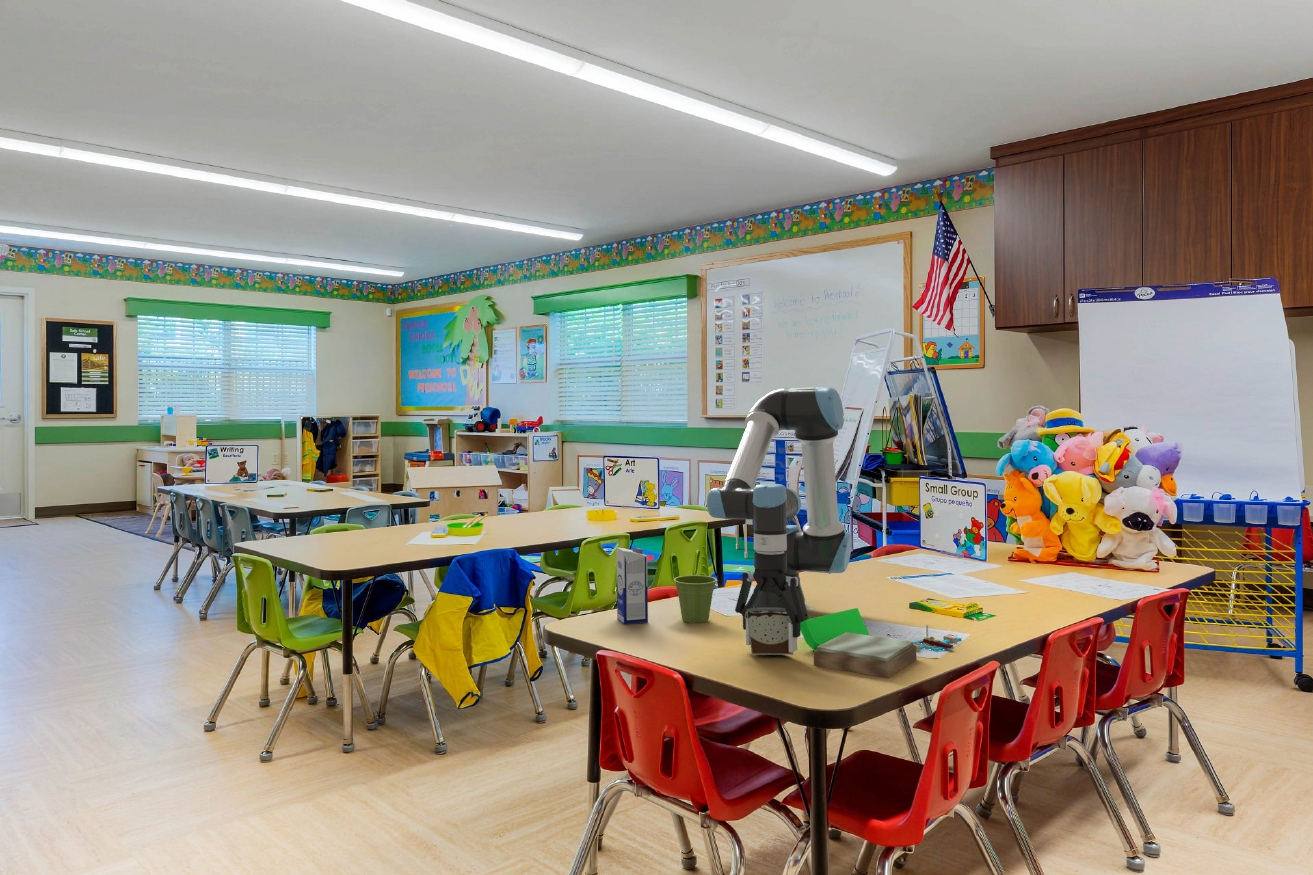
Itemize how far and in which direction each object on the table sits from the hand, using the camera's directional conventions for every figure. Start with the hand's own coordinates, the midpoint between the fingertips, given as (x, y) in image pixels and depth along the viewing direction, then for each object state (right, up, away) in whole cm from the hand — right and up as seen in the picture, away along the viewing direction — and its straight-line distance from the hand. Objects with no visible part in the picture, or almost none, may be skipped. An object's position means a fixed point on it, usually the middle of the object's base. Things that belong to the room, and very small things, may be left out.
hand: (771, 647), depth 198 cm
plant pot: (-16, -2, +36) cm, 39 cm away
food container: (0, -1, 0) cm, 1 cm away
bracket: (+15, -2, +13) cm, 20 cm away
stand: (+20, -2, -6) cm, 21 cm away
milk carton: (-33, -2, +36) cm, 49 cm away
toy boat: (+40, -2, +7) cm, 40 cm away
